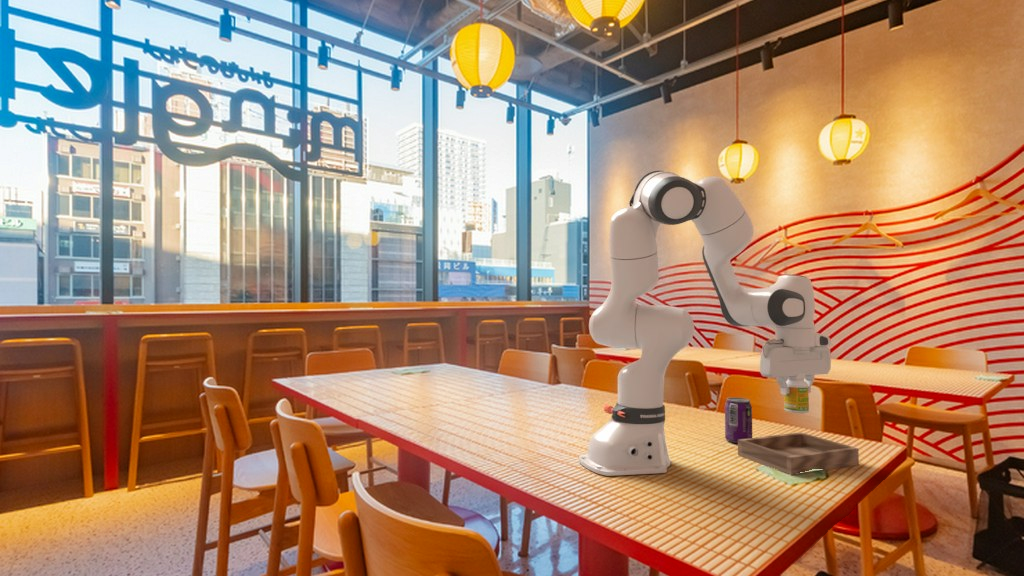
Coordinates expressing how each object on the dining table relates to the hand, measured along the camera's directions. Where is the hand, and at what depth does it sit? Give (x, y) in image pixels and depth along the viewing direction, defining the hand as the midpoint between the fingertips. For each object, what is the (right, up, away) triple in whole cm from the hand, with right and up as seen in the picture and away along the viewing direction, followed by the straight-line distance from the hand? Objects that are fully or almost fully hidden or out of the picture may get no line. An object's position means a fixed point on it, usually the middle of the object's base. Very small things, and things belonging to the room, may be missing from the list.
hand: (795, 393), depth 125 cm
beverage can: (-7, -17, +16) cm, 25 cm away
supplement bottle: (0, -5, 0) cm, 5 cm away
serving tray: (0, -17, 0) cm, 17 cm away
